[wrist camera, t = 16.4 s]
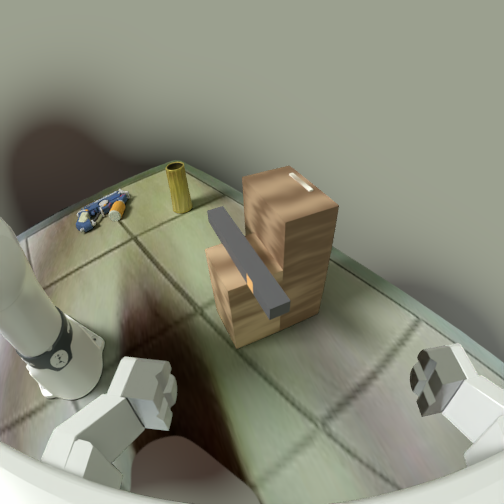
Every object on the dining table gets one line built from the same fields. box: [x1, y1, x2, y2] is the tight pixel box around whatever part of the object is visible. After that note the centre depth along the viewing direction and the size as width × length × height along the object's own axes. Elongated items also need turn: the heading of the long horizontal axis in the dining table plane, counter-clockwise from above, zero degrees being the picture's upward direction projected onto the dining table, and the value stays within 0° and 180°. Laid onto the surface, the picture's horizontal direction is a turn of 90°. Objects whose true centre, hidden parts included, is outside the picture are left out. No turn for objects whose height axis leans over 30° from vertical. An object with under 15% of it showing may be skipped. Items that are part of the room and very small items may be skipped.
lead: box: [207, 206, 291, 320], centre depth 47 cm, size 24×3×2 cm, turn 25°
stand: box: [205, 166, 339, 349], centre depth 53 cm, size 14×18×26 cm
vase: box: [166, 162, 193, 213], centre depth 85 cm, size 6×6×14 cm
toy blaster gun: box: [76, 189, 130, 232], centre depth 89 cm, size 21×4×15 cm
